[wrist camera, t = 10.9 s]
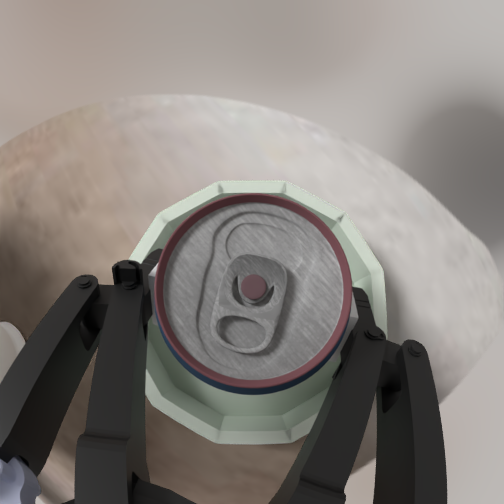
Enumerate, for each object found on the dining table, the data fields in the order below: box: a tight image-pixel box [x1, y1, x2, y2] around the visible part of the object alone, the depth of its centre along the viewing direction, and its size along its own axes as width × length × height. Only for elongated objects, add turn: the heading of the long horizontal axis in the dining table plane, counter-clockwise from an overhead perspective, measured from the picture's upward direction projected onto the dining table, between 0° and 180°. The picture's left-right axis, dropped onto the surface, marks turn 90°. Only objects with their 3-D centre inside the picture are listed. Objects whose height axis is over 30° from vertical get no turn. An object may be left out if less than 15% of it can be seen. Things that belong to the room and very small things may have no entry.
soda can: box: [154, 193, 352, 395], centre depth 14 cm, size 7×7×12 cm
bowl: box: [129, 180, 388, 444], centre depth 20 cm, size 18×18×4 cm
